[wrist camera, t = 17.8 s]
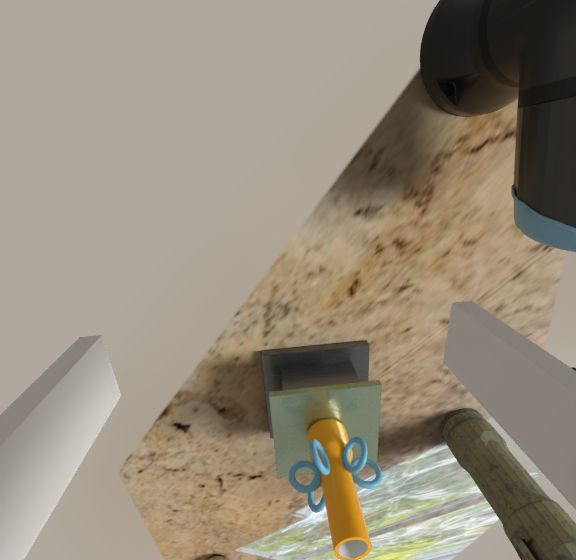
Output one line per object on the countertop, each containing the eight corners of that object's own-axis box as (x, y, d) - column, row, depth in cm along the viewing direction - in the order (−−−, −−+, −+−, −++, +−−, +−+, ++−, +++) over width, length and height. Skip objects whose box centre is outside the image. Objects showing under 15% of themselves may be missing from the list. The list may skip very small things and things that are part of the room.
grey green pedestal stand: (366, 340, 53) (388, 378, 44) (363, 421, 60) (382, 469, 51) (261, 350, 52) (261, 391, 43) (270, 431, 59) (271, 482, 50)
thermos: (481, 442, 65) (704, 729, 32) (427, 441, 63) (604, 740, 31) (496, 408, 62) (760, 688, 29) (440, 406, 60) (651, 698, 28)
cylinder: (285, 461, 48) (294, 583, 34) (285, 408, 45) (296, 521, 31) (362, 456, 49) (402, 574, 35) (369, 404, 45) (416, 512, 31)
